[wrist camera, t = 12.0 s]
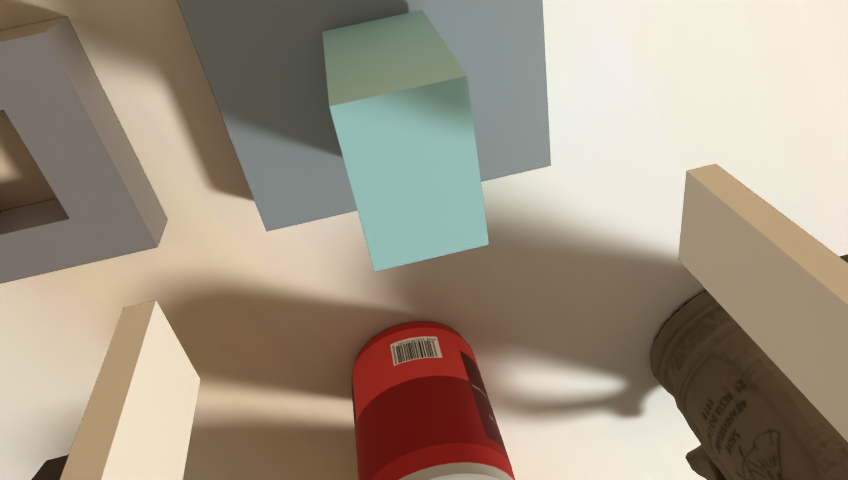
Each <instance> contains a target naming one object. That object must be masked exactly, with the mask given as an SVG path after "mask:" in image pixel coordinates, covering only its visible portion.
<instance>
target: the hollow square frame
mask: <svg viewBox="0 0 848 480" xmlns="http://www.w3.org/2000/svg"><path fill="white" fill-rule="evenodd" d="M0 110H4V111H5V113H6V115H7V116H8V118H9V120H10V121H11V123H12V124H13V126H14V128H15V129H16V131H17V133H18V134H19V136H20V138H21V139H22V141H23V143H24V144H25V146H26V147H27V149H28V151H29V152H30V154H31V156H32V157H33V159H34V161H35V162H36V164H37V166H38V167H39V169H40V170H41V172H42V174H43V175H44V177H45V179H46V180H47V182H48V184H49V185H50V187H51V189H52V190H53V192H54V194H55V195H56V197H57V199H52V200H48V201H44V202H39V203H35V204H30V205H26V206H21V207H17V208H13V209H8V210H4V211H0V284H1V283H5V282H10V281H14V280H18V279H23V278H27V277H31V276H36V275H40V274H44V273H49V272H53V271H57V270H62V269H66V268H70V267H75V266H79V265H83V264H88V263H92V262H96V261H101V260H105V259H109V258H114V257H118V256H122V255H126V254H131V253H135V252H139V251H144V250H148V249H152V248H157V247H158V245H159V242H160V240H161V237H162V234H163V231H164V228H165V226H166V223H167V220H168V219H167V217H166V215H165V213H164V211H163V209H162V207H161V205H160V203H159V201H158V199H157V197H156V195H155V193H154V191H153V189H152V187H151V185H150V183H149V181H148V179H147V177H146V175H145V173H144V171H143V169H142V166H141V164H140V162H139V160H138V158H137V156H136V154H135V152H134V150H133V148H132V146H131V144H130V142H129V140H128V138H127V136H126V134H125V132H124V130H123V128H122V126H121V124H120V122H119V120H118V118H117V116H116V114H115V112H114V110H113V108H112V106H111V104H110V102H109V100H108V98H107V96H106V94H105V92H104V90H103V88H102V86H101V84H100V82H99V80H98V78H97V76H96V74H95V72H94V70H93V68H92V66H91V64H90V62H89V60H88V58H87V56H86V54H85V51H84V49H83V47H82V45H81V43H80V41H79V39H78V37H77V35H76V33H75V31H74V29H73V27H72V25H71V23H70V21H69V19H68V17H67V16H66V17H61V18H57V19H52V20H47V21H43V22H38V23H33V24H29V25H24V26H19V27H15V28H10V29H5V30H1V31H0Z"/></svg>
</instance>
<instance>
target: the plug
mask: <svg viewBox="0 0 848 480" xmlns="http://www.w3.org/2000/svg"><path fill="white" fill-rule="evenodd" d="M322 34H323V44H324V55H325V66H326V77H327V88H328V98H329V107H330V111H331V115H332V118H333V122H334V126H335V129H336V133H337V137H338V140H339V144H340V148H341V151H342V155H343V159H344V162H345V166H346V170H347V173H348V177H349V180H350V184H351V188H352V191H353V195H354V199H355V202H356V206H357V210H358V213H359V217H360V221H361V224H362V228H363V232H364V235H365V239H366V243H367V246H368V250H369V253H370V257H371V261H372V264H373V268H374V272H376V271H380V270H384V269H388V268H393V267H397V266H401V265H405V264H409V263H414V262H418V261H422V260H426V259H431V258H435V257H439V256H443V255H448V254H452V253H456V252H460V251H464V250H469V249H473V248H477V247H481V246H486V245H489V241H488V233H487V225H486V218H485V210H484V202H483V195H482V187H481V179H480V171H479V164H478V156H477V148H476V140H475V133H474V125H473V117H472V109H471V102H470V94H469V86H468V78H467V75H466V73H465V72H464V70H463V69H462V67H461V66H460V65H459V63H458V62H457V60H456V59H455V57H454V56H453V54H452V53H451V51H450V50H449V49H448V47H447V46H446V44H445V43H444V41H443V40H442V38H441V37H440V35H439V34H438V33H437V31H436V30H435V28H434V27H433V25H432V24H431V22H430V21H429V19H428V18H427V16H426V15H425V14H424V12H423V11H422V10H419V11H414V12H410V13H405V14H401V15H396V16H392V17H387V18H382V19H378V20H373V21H369V22H364V23H360V24H355V25H350V26H346V27H341V28H337V29H332V30H328V31H323V32H322Z"/></svg>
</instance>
